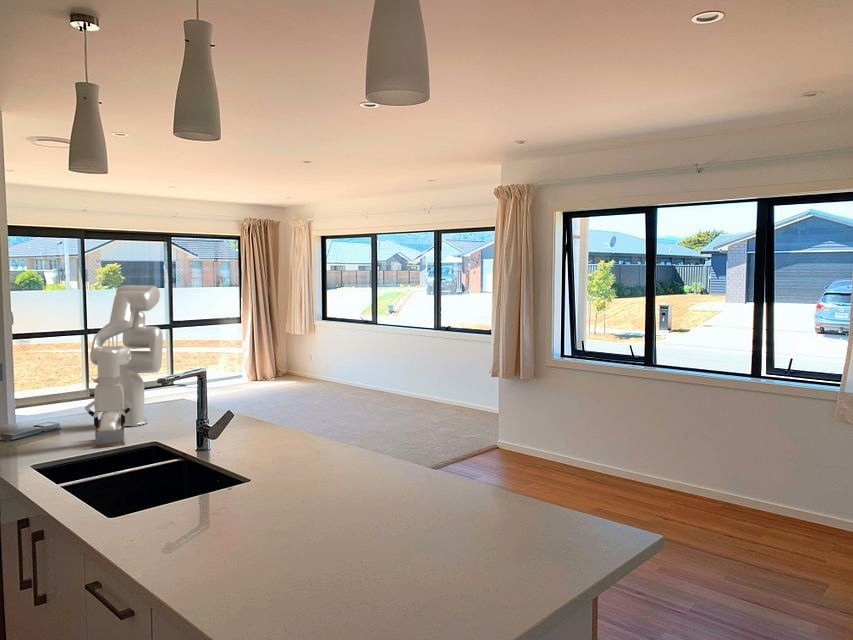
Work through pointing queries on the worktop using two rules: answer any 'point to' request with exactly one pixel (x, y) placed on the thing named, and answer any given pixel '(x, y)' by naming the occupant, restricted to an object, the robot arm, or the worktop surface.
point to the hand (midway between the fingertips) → (109, 426)
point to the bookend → (109, 436)
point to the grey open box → (109, 444)
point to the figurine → (109, 421)
